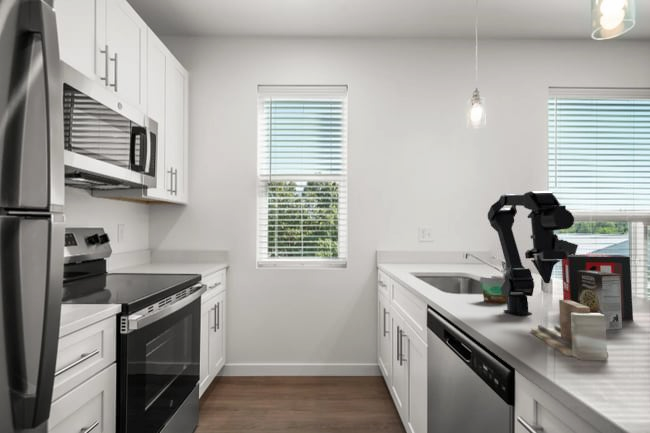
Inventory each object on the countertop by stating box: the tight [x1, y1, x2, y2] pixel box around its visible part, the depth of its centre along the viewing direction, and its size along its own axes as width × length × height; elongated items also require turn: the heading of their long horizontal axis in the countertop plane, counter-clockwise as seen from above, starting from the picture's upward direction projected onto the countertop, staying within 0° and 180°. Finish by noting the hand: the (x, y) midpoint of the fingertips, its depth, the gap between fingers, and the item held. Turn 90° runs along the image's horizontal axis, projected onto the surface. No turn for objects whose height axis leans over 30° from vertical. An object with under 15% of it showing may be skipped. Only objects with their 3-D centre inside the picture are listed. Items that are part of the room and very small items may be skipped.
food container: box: [479, 276, 507, 305], centre depth 144 cm, size 12×6×10 cm, turn 81°
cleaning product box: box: [561, 254, 634, 322], centre depth 121 cm, size 16×9×20 cm, turn 70°
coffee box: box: [577, 270, 623, 331], centre depth 109 cm, size 9×6×16 cm
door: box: [558, 299, 590, 343], centre depth 89 cm, size 9×3×10 cm, turn 171°
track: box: [530, 313, 609, 361], centre depth 92 cm, size 22×9×10 cm, turn 171°
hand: (547, 283), depth 109 cm, fingers closed
